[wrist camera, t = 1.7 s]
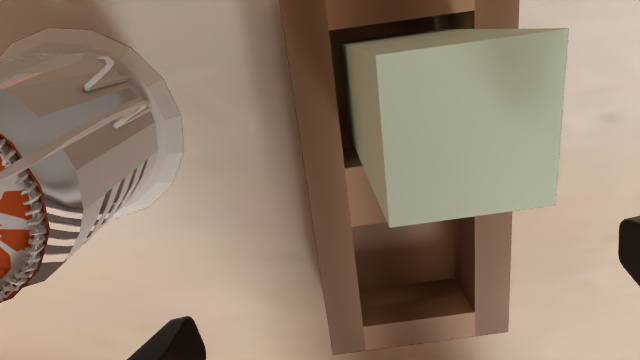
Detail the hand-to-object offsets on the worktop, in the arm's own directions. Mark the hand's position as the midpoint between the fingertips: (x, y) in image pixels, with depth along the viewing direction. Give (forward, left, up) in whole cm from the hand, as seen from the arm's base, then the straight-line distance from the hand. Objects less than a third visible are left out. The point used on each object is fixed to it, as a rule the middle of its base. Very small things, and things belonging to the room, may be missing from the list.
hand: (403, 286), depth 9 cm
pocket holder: (-2, +2, -14) cm, 14 cm away
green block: (-2, -2, -13) cm, 13 cm away
